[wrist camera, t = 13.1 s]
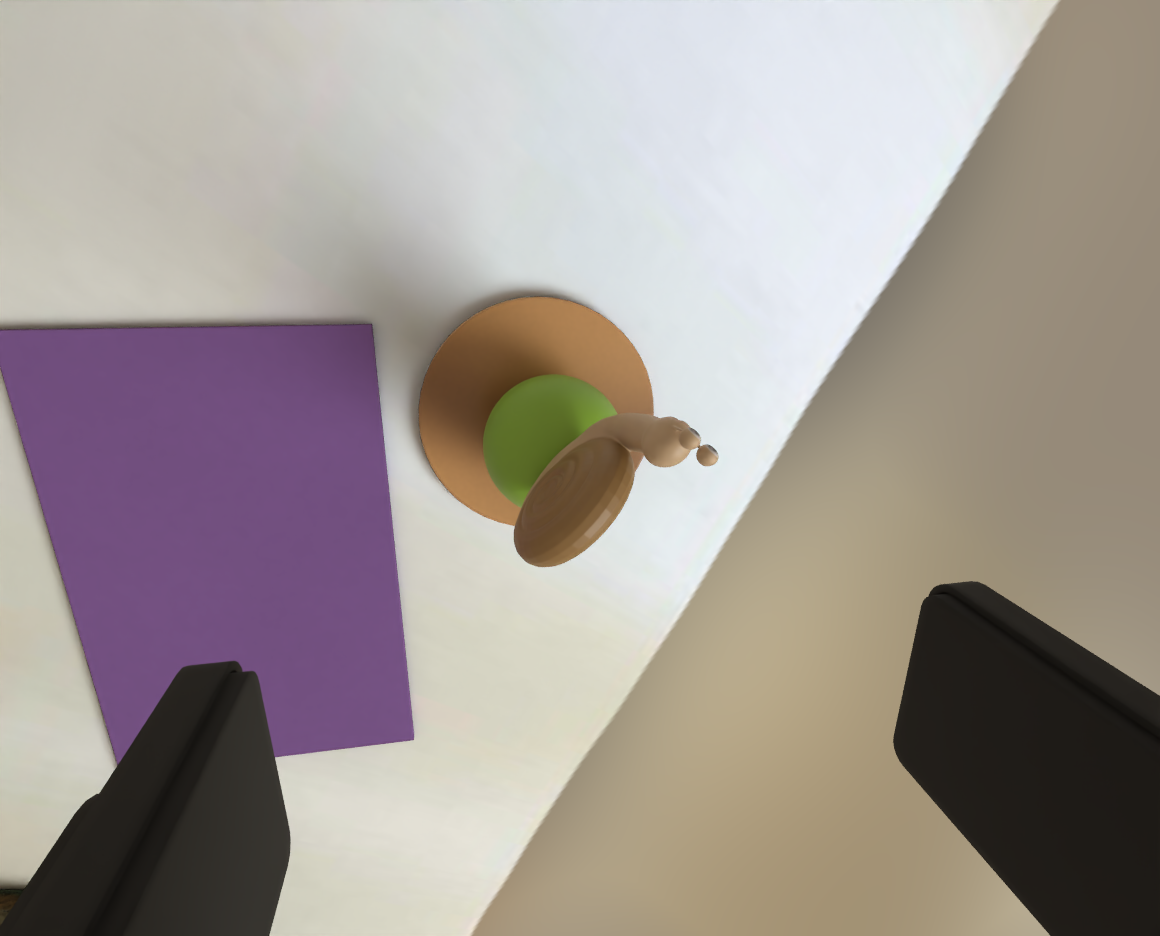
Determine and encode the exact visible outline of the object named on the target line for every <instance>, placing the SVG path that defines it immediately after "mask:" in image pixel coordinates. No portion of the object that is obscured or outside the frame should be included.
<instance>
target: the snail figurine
mask: <svg viewBox="0 0 1160 936" xmlns="http://www.w3.org/2000/svg"><path fill="white" fill-rule="evenodd" d="M700 441H701V437H700V435H699V434H698V433H697V431H695V430H694V429H692V428H690V427H689V425H688V424H687V423H685V422H684V421H680V420H678V419H676V418H674V417H664V418H658V417H655V416H652V415H647V414H640V413H623V414H617V412H616V410H615V409H614V407H613V406H612V404H611V403H610V401H609V400H608V399H607V398H606V397H605V396H604V395H603V394H602V393H601V392H600V391H599V390H598V389H596V388H595V387H593V386H592V385H590V384H589V383H587V382H585V381H583V380H580V379H578V378H574V377H571V376H566V375H557V374H550V375H541V376H537V377H533V378H530V379H527V380H525V381H523V382H521V383H519V384H517V385H516V386H514V387H513V388H511V389H510V390H509V391H508V392H506V393H505V394H504V395H503V396H502V397H501V399H500V400H499V401H498V402H497V404H496V405H495V406H494V408H493V410H492V412H491V413H490V415H489V418H488V420H487V423H486V426H485V431H484V437H483V454H484V460H485V464H486V467H487V470H488V473H489V475H490V477H491V479H492V481H493V482H494V484H495V485H496V487H497V488H498V489H499V491H500V492H501V493H502V494H503V495H504V496H505V497H506V498H507V499H508V500H510V501H511V502H512V503H514V504H515V505H517V506H518V507H520V508H521V510H520V513H519V515H518V518H517V521H516V524H515V529H514V543H515V547H516V550H517V552H518V554H519V555H520V556H521V557H522V558H523V559H524V560H525V561H526V562H527V563H529V564H532V565H534V566H538V567H552V566H556V565H559V564H562V563H565V562H567V561H569V560H571V559H572V558H574V557H576V556H578V555H579V554H580V553H582V552H583V551H585V550H586V549H587V548H588V547H590V546H591V545H592V544H593V543H594V542H595V541H596V540H597V539H598V538H599V537H600V536H601V535H602V534H603V533H604V532H605V531H606V530H607V529H608V528H609V526H610V525H611V524H612V523H613V521H614V520H615V519H616V517H617V516H618V514H619V513H620V511H621V510H622V508H623V506H624V504H625V502H626V501H627V499H628V496H629V494H630V491H631V488H632V485H633V481H634V475H635V471H634V462H633V459H632V457H631V454H630V452H631V451H635V452H640V453H644V456H645V457H646V459H647V460H648V461H649V462H650V463H651V464H653V465H655V466H658V467H671V466H674V465H677V464H678V463H680V462H682V461H683V460H684V459H685V458H686V457H687V456H688V454H689V452H690V450H691V449H695V448H697V447H698V448H699V449H698V451H697V455H696V456H697V460H698V462H699V463H700V464H702V465H704V466H711V465H714V464H715V463H716V462H717V460H718V453H717V451H716V450H715V449H714V448H713V447H712V446H710V445H703V446H700V445H699V444H700Z"/></svg>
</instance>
